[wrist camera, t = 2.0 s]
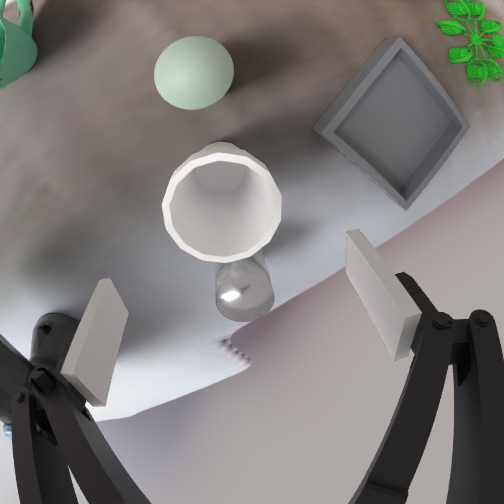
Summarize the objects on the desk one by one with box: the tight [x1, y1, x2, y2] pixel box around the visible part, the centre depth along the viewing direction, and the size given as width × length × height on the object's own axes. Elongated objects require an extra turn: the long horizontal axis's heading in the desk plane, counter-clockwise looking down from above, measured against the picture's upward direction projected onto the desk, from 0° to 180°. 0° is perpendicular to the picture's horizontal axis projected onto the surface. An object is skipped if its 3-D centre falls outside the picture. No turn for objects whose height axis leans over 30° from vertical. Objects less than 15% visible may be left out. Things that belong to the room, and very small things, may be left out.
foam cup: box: [162, 141, 282, 263], centre depth 29 cm, size 10×9×13 cm
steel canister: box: [216, 248, 274, 322], centre depth 35 cm, size 6×6×11 cm
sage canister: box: [154, 36, 234, 110], centre depth 24 cm, size 6×6×11 cm
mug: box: [0, 0, 38, 89], centre depth 17 cm, size 15×10×10 cm
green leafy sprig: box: [437, 0, 504, 86], centre depth 23 cm, size 15×15×7 cm
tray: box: [312, 36, 469, 211], centre depth 31 cm, size 16×16×4 cm
